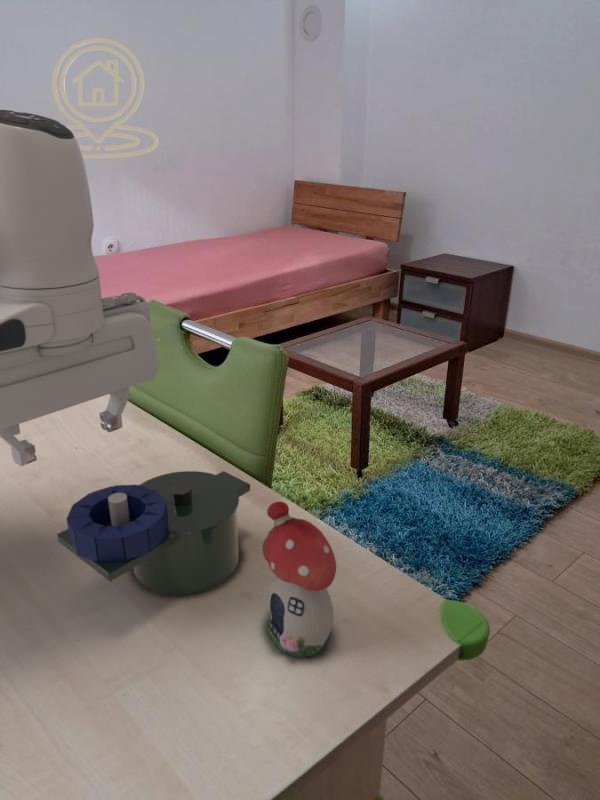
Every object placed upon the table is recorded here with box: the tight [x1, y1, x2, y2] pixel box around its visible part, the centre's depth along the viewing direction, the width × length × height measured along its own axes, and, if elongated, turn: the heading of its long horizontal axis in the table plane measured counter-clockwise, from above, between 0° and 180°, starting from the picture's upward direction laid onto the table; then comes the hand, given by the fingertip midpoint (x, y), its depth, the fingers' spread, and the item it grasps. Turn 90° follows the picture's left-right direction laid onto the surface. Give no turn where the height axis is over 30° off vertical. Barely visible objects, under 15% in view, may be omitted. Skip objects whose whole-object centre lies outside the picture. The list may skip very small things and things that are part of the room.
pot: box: [56, 470, 251, 596], centre depth 75 cm, size 22×14×13 cm, turn 139°
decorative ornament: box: [262, 501, 337, 659], centre depth 66 cm, size 9×7×15 cm
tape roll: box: [66, 484, 168, 563], centre depth 69 cm, size 10×10×3 cm
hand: (70, 444), depth 63 cm, fingers open, 8 cm apart
